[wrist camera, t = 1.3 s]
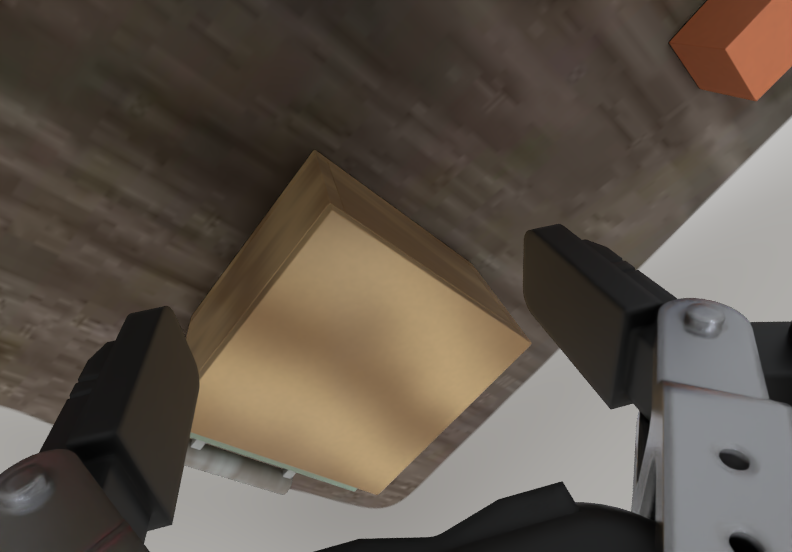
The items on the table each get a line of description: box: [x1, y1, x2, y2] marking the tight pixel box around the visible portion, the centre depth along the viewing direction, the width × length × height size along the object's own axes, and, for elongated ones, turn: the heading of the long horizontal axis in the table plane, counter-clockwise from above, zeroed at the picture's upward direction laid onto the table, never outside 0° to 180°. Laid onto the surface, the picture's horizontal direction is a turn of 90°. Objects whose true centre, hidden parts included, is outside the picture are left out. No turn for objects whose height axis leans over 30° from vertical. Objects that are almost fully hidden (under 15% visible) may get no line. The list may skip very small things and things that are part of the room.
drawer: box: [184, 433, 358, 495], centre depth 28 cm, size 16×11×7 cm
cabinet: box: [186, 150, 531, 495], centre depth 26 cm, size 13×13×9 cm
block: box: [669, 0, 792, 101], centre depth 26 cm, size 4×4×4 cm
